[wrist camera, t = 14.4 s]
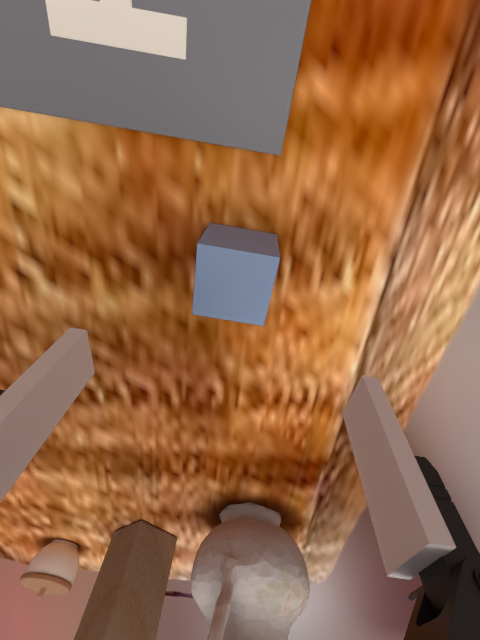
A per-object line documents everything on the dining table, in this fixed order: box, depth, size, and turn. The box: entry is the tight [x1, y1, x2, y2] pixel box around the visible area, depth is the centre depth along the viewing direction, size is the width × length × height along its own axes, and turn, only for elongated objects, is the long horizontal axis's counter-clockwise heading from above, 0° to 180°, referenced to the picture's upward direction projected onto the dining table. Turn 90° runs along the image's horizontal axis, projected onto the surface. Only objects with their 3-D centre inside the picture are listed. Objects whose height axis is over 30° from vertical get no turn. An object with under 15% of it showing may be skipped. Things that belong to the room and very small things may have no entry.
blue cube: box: [192, 223, 280, 326], centre depth 24 cm, size 6×6×6 cm
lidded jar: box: [19, 539, 79, 598], centre depth 64 cm, size 11×11×9 cm
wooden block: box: [74, 520, 177, 640], centre depth 53 cm, size 10×10×20 cm
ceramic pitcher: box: [191, 502, 310, 640], centre depth 44 cm, size 22×20×25 cm
